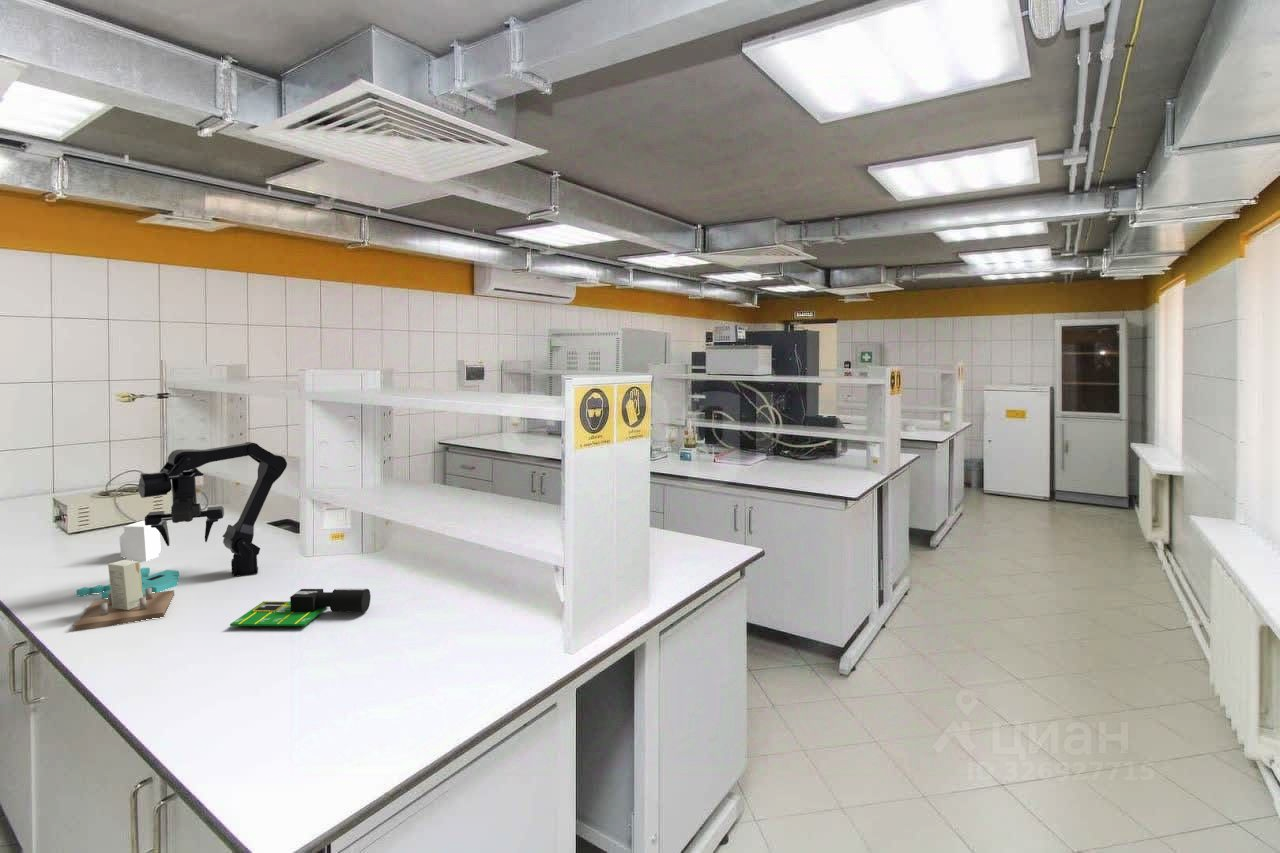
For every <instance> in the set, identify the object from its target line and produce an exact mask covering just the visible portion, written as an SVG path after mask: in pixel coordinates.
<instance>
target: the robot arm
mask: <svg viewBox="0 0 1280 853" xmlns="http://www.w3.org/2000/svg"><path fill="white" fill-rule="evenodd" d="M247 456H248V457H250V458H251V459H252V460H253V461H255V462H257V463H258V466H257V480H256V481H255V484H254V486H253V488H252V490H251V492H250V493H249V497H248V498H247V501H246V503H245V505H244V507H243V509H242V512H241V514H240V516H239V519H238V520H237V521H236V522H235V523H234V524H233V525H231V524H228V525H227V527H226V531H225V533H224V534H222V537H223V540H222V543H223V545H224V547H226V548H227V549H228V550H230V551H231V553H232V554H233V555H232V559H231V561H230V562H231V563H230V564H231V574H232V575H233V578H234V577H242V576H252V575H257V574H259V573H258V572H259V566H258V555H259V554H260V552H261V548H260V547H259V546H258V545H256V544H254V542H253V540H254V532H255V530H254V529H255V524H256V521H257V520H258V518H259V515H260V513H261V510H262V508H263V506H264V504H265V502H266V500H267V497H268V495H269V493H270V492H271V488H272V486H273V484H275V482H276V481H277V480H278V479H280V477H281V476H282V475H283V473H284V472H285V470H286V469H287V466H288V462H287V460H286V459H285V457H284V456H281V455H278V454H274V453H272V452H270V451H269V450H267V449H265V448H263V447H262V446H260V445H259V444H258V443H257V442H251V441H246V442H243V443H239V444H232V445H231V444H230V445H226V446H217V447H212V448H207V449H187V448H186V449H183V448H181V449H175V450H172V451H171V453H169V455H168V457H167V462H166V463H165V464H164V466H163V467H162V468H161V469H160V470H159V472H152V473H151V472H150V473H147V472H146V473H140V478H139V481H138V485H137V488H138V493H139V496H140V497H141V498H142V499H143V498H152V497H153V498H154V497H160V496H165V495H168V493H171V492H172V493H171V494H172V505H171V508H170V509H171V511H170V513H165V510H160V511H159V510H158V511H149V512H148V513H147V514H146V515H145V517H144V520H145V525H151V527H152V528H156V529H157V530H158V531H159V532H160V536H162V539H163V540H164V542H165V544H166V546H167V547H169V546H170V535H169V529H168V524H167V522H168V521H171V522H172V523H173V524H179V523H183V522H184V523H185V522H186V523H189V522H191V521H193V520H194V519H196V518H206V520H205V530H204V531H205V532H204V542H205V543H207V542H208V539H209V535H210V532H211V529H212V527H213V525H214V523H217V522H218V521H219V520H222V519H223V518H224V516H225V509H224V507H223V506H222V505H221V506H218V505H217V506H208V507H207V509H206V510H202V507H201V503H199V502H197V501H198V500H197V487H196V486H197V485H196V477H201V476H202V477H203V476H204V474H205V473H203V472H202V471H200V470H199V469H198V468H200V467H202V466H204V465H206V464H209V463H213V462H219V461H220V462H221V461H225V460H231V459H232V460H233V459H237V458H242V457H247Z"/></svg>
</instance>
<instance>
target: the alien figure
mask: <svg viewBox="0 0 1280 853" xmlns="http://www.w3.org/2000/svg"><path fill="white" fill-rule="evenodd" d="M140 570H141V580H142V591H143V594H146V592H145V589H146V588H152V592H155V593H157V592H160V591H162V592H164V591H166V590H165V589H167V590H169V589H168V588H170V589H172V588H174V586H175V587H177V586H176V585H178V583H179V578H180V570H175V569H174V570H173V569H165V570H162V571H160V572H157V573H153V574H151V569H150V567H140ZM149 573H150V574H149ZM177 582H178V583H177ZM171 587H172V588H171ZM163 590H164V591H163ZM103 591H104V592H103ZM75 592H76V596H77V595H80V596H79V597H85V596H84V595H86V596H88V595H87V594H89V595H91V594H90V593H100V592H102V593H100V594H101V599H102V598H108V593H111V588H110V583H109V584H107V585H103V584H102V585H101V584H97V585H96V586H95V585H94V586H92V587H87V586H84V587H80V588H78V589H76V591H75Z"/></svg>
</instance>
